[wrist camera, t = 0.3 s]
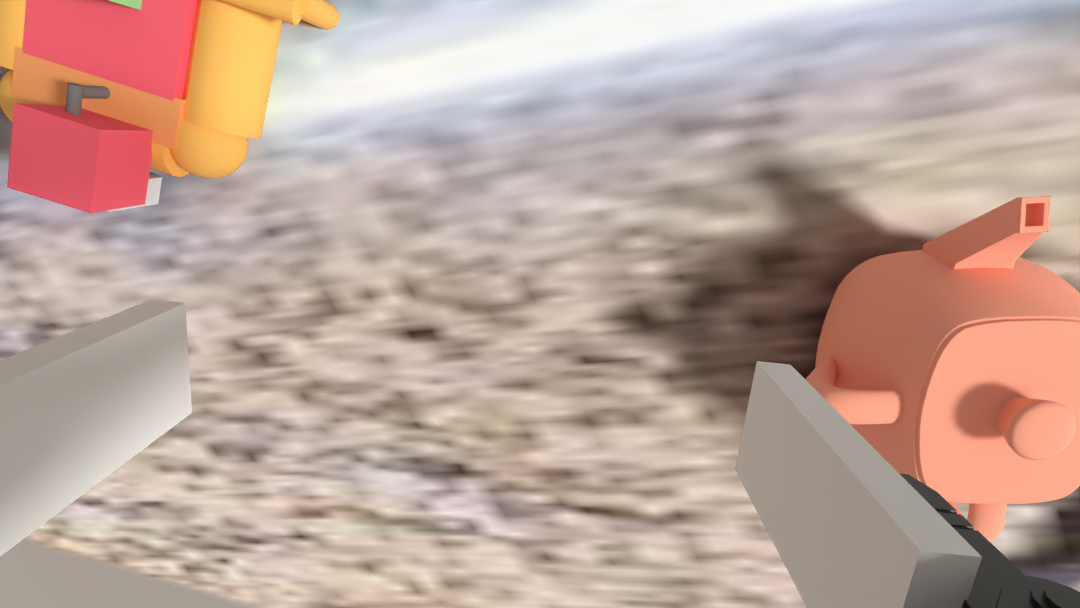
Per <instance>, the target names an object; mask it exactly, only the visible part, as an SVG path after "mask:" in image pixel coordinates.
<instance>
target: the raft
mask: <svg viewBox="0 0 1080 608" xmlns="http://www.w3.org/2000/svg"><path fill="white" fill-rule="evenodd" d="M300 20H304V21H306V22H308V23H310V24H312V25H315V26H317V27H319V28H321V29H326V30H328V29H332V28H334V27H335V26H336V25H337V24H338V21H339V14H338V11H337V10H336V8H335V7H334V6H333V5H332V4H330V3H328V2H327V1H325V0H0V66H2V67H5V68H8V69H10V70H9V71H7V72H6V73H5V74H4V76H3V77H2V79H1V81H0V107H1V108H2V110H3V112H4V114H5V115H6V116H7V117H8V119H9V120H10V121H11V122H12V135H11V148H10V160H9V173H8V185H7V187H8V188H11V189H15V190H18V191H21V192H24V193H28V194H31V195H34V196H37V197H40V198H44V199H47V200H50V201H53V202H57V203H60V204H63V205H66V206H69V207H73V208H76V209H79V210H82V211H86V212H89V213H94V212H100V211H109V212H112V211H118V210H124V209H130V208H136V207H143V206H149V205H155V204H158V202H159V195H160V188H161V182H162V177H159V176H156V175H153V174H150V168H151V169H154V170H157V171H160V172H163V173H166V174H170V175H173V176H178V177H182V176H185V175H187V174H188V173H192V174H194V175H196V176H199V177H204V178H220V177H224V176H227V175H230V174H231V173H233V172H235V171H236V170H237V169H238V168H239V167H240V166H241V165H242V164H243V162H244V160H245V158H246V155H247V151H248V139H247V137H249V138H261V134H262V129H263V124H264V118H265V113H266V107H267V102H268V97H269V91H270V86H271V81H272V75H273V70H274V64H275V59H276V54H277V48H278V43H279V38H280V32H281V27H282V21H285V22H288V23H291V24H294V25H297V24H299V22H300Z"/></svg>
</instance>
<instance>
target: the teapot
mask: <svg viewBox="0 0 1080 608" xmlns="http://www.w3.org/2000/svg"><path fill="white" fill-rule="evenodd" d="M1049 211H1050V196H1040V197H1022V198H1016V199H1014V200H1012V201H1010V202H1008V203H1006V204H1004V205H1002V206H1000V207H998V208H996V209H994V210H992V211H990V212H988V213H986V214H984V215H982V216H980V217H978V218H976V219H974V220H972V221H970V222H968V223H966V224H964V225H962V226H960V227H958V228H956V229H954V230H952V231H950V232H947V233H945V234H943V235H941V236H939V237H937V238H935V239H933V240H931V241H929V242H927V243H925V244H923V248H922V250H914V251H904V252H897V253H891V254H886V255H880V256H877V257H874V258H871V259H869V260H866V261H864V262H863V263H861V264H860V265H858V266H857V267H855V268H854V269H853V270H852V271H851V272H850V273H848V274H847V275H846V277H845V278H844V279H843V281H842V282H841V283H840V284H839V285H838V287H837V288H836V290H835V292H834V296H833V298H832V301H831V304H830V306H829V309H828V312H827V314H826V317H825V321H824V324H823V327H822V330H821V334H820V339H819V343H818V348H817V355H816V365H815V369H814V370H813V371H812V372H811V373H810V374H809V376H808V377H807V378H806V381H807V382H808V383H809V384H810V385H811V386H812V387H813V388H814V389H815V390H816V391H817V392H818V393H819V394H820V395H821V396H822V397H823V398H824V399H825V400H826V401H827V402H828V403H829V404H830V405H831V406H832V407H833V408H834V409H835V410H836V411H837V412H838V413H839V414H840V415H841V416H842V417H843V418H844V419H845V420H846V421H847V422H848V423H849V424H850V425H851V426H852V427H853V428H854V429H855V430H856V431H857V432H858V433H859V434H860V435H861V436H862V437H863V438H864V439H865V440H866V441H867V442H868V443H869V444H870V445H871V446H872V447H873V448H874V449H875V450H876V451H877V452H878V453H879V454H880V455H881V456H882V457H883V458H884V459H885V460H886V461H887V462H888V463H889V464H890V465H891V466H892V467H893V468H894V469H895V470H896V471H897V472H898V473H900V474H909V475H910V476H912V477H913V478H915V479H917V480H918V481H920V482H922V483H923V484H925V485H927V486H928V487H930V488H932V489H933V490H935V491H937V492H938V493H939V494H940V495H941V496H942V497H943V498H944V499H945V500H946V501H947V502H948V503H949V504H950V505H951V506H952V507H953V508H955V509H956V510H957V514H961V513H960V511H959V509H958V508H957V506H956V504H955V502H959V503H969V513H968V518H967V521H968V522H969V523H970V524H971V525H972V526H973V529H974V530H976V531H979V532H980V533H981V534H982V535H983V536H984V537H985V538H986V539H987V540H988V541H989V542H992V541H993V540H995V539H996V538H997V537H998V535H999V534H1000V533H1001V531H1002V529H1003V526H1004V523H1005V518H1006V508H1007V505H1006V504H1024V503H1037V502H1046V501H1052V500H1056V499H1060V498H1063V497H1065V496H1067V495H1069V494H1071V493H1072V492H1073V491H1074V490H1076V489H1077V488H1078V487H1079V486H1080V293H1079V292H1078V291H1077V290H1076V289H1074V288H1073V287H1072V286H1071V285H1070V284H1068V283H1067V282H1066V281H1064V280H1063V279H1061V278H1060V277H1059V276H1057V275H1056V274H1054V273H1053V272H1051V271H1049V270H1047V269H1046V268H1044V267H1042V266H1040V265H1037V264H1035V263H1033V262H1031V261H1028V260H1025V259H1023V258H1020V257H1019V256H1020V255H1021V254H1022V253H1023V252H1024V251H1025V250H1026V249H1027V248H1028V247H1029V246H1030V245H1031V244H1032V243H1033V242H1034V241H1035V240H1036V239H1037V238H1038V237H1039V236H1040V235H1041V234H1042V233H1043V232H1048V227H1049ZM961 515H962V514H961Z"/></svg>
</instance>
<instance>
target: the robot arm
mask: <svg viewBox="0 0 1080 608" xmlns="http://www.w3.org/2000/svg"><path fill="white" fill-rule="evenodd" d="M191 413H192V409H191V392H190V375H189V359H188V342H187V326H186V309H185V303H180V302H171V301H161V300H150V301H147V302H145V303H142V304H140V305H137V306H135V307H132V308H130V309H127V310H125V311H122V312H120V313H117V314H115V315H112V316H110V317H107V318H105V319H102V320H100V321H97V322H95V323H92V324H90V325H87V326H85V327H82V328H80V329H77V330H75V331H72V332H70V333H67V334H65V335H62V336H60V337H57V338H55V339H52V340H50V341H47V342H45V343H42V344H40V345H37V346H35V347H32V348H30V349H27V350H25V351H22V352H20V353H17V354H15V355H12V356H10V357H7V358H5V359H2V360H0V556H1V555H2V554H4V553H5V552H7V551H8V550H9V549H11V548H12V547H13V546H15V545H16V544H17V543H19V542H20V541H21V540H23V539H24V538H25V537H27V536H28V535H29V534H31V533H32V532H33V531H35V530H36V529H37V528H39V527H40V526H41V525H43V524H44V523H45V522H47V521H48V520H49V519H51V518H52V517H53V516H55V515H56V514H57V513H59V512H60V511H61V510H63V509H64V508H65V507H67V506H68V505H69V504H71V503H72V502H73V501H75V500H76V499H77V498H79V497H80V496H81V495H83V494H84V493H85V492H87V491H88V490H89V489H91V488H92V487H93V486H95V485H96V484H97V483H99V482H100V481H101V480H103V479H104V478H105V477H107V476H108V475H109V474H111V473H112V472H113V471H115V470H116V469H117V468H119V467H120V466H121V465H123V464H124V463H125V462H127V461H128V460H129V459H131V458H132V457H133V456H135V455H136V454H137V453H139V452H140V451H141V450H143V449H144V448H145V447H147V446H148V445H149V444H151V443H152V442H153V441H155V440H156V439H157V438H159V437H160V436H161V435H163V434H164V433H165V432H167V431H168V430H169V429H171V428H172V427H173V426H175V425H176V424H177V423H179V422H180V421H181V420H183V419H184V418H185V417H187V416H188V415H190V414H191ZM735 470H736V471H737V473H738V475H739V477H740V479H741V481H742V483H743V485H744V487H745V489H746V491H747V493H748V495H749V497H750V498H751V500H752V502H753V504H754V506H755V508H756V510H757V512H758V514H759V516H760V518H761V520H762V522H763V524H764V525H765V527H766V529H767V531H768V533H769V535H770V537H771V539H772V541H773V543H774V545H775V547H776V549H777V551H778V552H779V554H780V556H781V558H782V560H783V562H784V564H785V566H786V568H787V570H788V572H789V574H790V576H791V578H792V579H793V581H794V583H795V585H796V587H797V589H798V591H799V593H800V595H801V597H802V599H803V601H804V603H805V605H806V606H807V608H1080V592H1078V591H1076V590H1074V589H1072V588H1070V587H1067V586H1064V585H1061V584H1058V583H1055V582H1053V581H1050V580H1047V579H1041V578H1035V577H1030V576H1025V575H1024V574H1023V573H1022V572H1021V571H1020V570H1019V569H1018V568H1017V567H1016V566H1014V565H1013V564H1012V563H1011V562H1010V561H1009V560H1008V559H1007V558H1006V557H1005V556H1004V555H1003V554H1002V553H1001V552H1000V551H999V550H998V549H997V548H996V547H994V546H993V545H992V544H991V543H990V542H989V541H988V540H987V539H986V538H985V537H984V536H983V535H982V534H981V533H980V532H979V531H976V530H974V529H973V526H972V525H971V524H970V523H969V522H968V521H967V520H966V519H965V518H964V517H963V516H962V515H961V514H957V510H956V509H955V508H953V507H952V506H951V505H950V504H949V503H948V502H947V501H946V500H945V499H944V498H943V497H942V496H941V495H940V494H939V493H938V492H937V491H935V490H933V489H932V488H930V487H928V486H927V485H925V484H923V483H922V482H920V481H918V480H917V479H915V478H913V477H912V476H910V475H909V474H900V473H898V472H897V471H896V470H895V469H894V468H893V467H892V466H891V465H890V464H889V463H888V462H887V461H886V460H885V459H884V458H883V457H882V456H881V455H880V454H879V453H878V452H877V451H876V450H875V449H874V448H873V447H872V446H871V445H870V444H869V443H868V442H867V441H866V440H865V439H864V438H863V437H862V436H861V435H860V434H859V433H858V432H857V431H856V430H855V429H854V428H853V427H852V426H851V425H850V424H849V423H848V422H847V421H846V420H845V419H844V418H843V417H842V416H841V415H840V414H839V413H838V412H837V411H836V410H835V409H834V408H833V407H832V406H831V405H830V404H829V403H828V402H827V401H826V400H825V399H824V398H823V397H822V396H821V395H820V394H819V393H818V392H817V391H816V390H815V389H814V388H813V387H812V386H811V385H810V384H809V383H808V382H807V381H806V380H805V379H804V378H803V377H802V376H801V375H800V374H799V373H798V372H797V371H796V370H795V369H794V368H793V367H792V366H791V365H790V364H780V363H770V362H761V361H757V363H756V368H755V373H754V378H753V383H752V388H751V393H750V398H749V403H748V408H747V413H746V418H745V423H744V428H743V433H742V437H741V442H740V447H739V452H738V457H737V462H736V467H735Z"/></svg>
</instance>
